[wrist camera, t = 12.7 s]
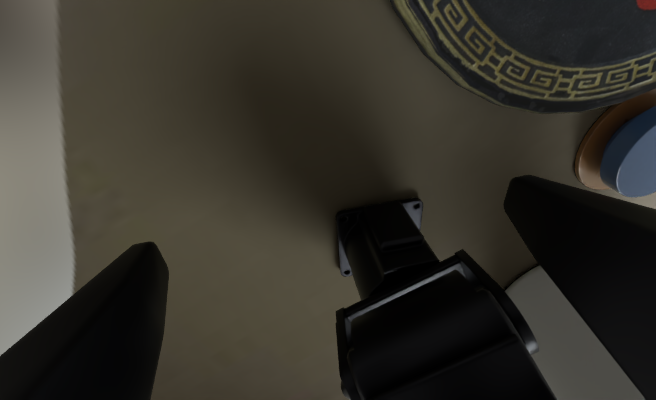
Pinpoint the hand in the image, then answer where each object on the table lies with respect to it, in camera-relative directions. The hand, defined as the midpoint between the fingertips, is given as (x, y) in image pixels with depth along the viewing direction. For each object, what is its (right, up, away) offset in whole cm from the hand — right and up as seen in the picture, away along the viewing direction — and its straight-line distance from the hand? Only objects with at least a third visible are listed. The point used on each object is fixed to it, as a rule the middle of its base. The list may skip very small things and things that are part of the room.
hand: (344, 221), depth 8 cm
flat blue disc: (+23, +5, +16) cm, 28 cm away
